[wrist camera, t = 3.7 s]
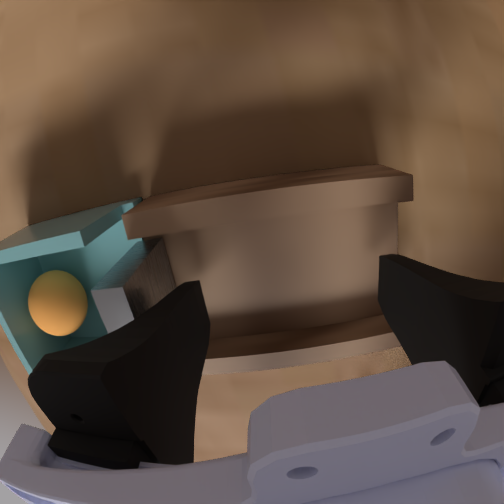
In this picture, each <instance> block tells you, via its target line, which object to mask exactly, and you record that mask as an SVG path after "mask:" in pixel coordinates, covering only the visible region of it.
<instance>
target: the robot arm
mask: <svg viewBox="0 0 504 504" xmlns="http://www.w3.org/2000/svg"><path fill="white" fill-rule="evenodd" d="M378 303H379V305H380V308H381V310H382V312H383V315H384V317H385V319H386V321H387V323H388V324H389V326H390V328H391V329H392V331H393V333H394V334H395V336H396V337H397V339H398V341H399V342H400V344H401V346H402V347H403V349H404V351H405V352H406V354H407V356H408V358H409V360H410V362H411V364H412V365H411V366H407V367H403V368H399V369H395V370H391V371H387V372H383V373H379V374H375V375H370V376H365V377H361V378H356V379H351V380H346V381H340V382H335V383H329V384H323V385H317V386H311V387H304V388H298V389H295V390H292V391H289V392H285V393H282V394H279V395H275V396H272V397H270V398H269V399H267V400H266V401H265V402H264V403H262V404H261V405H260V406H259V407H257V408H256V409H255V410H254V411H252V412H251V415H250V420H249V425H248V445H247V453H242V454H238V455H233V456H228V457H223V458H218V459H213V460H207V461H201V462H195V463H194V431H195V415H196V405H197V395H198V389H199V384H200V380H201V376H202V372H203V368H204V363H205V359H206V355H207V350H208V346H209V338H210V325H211V323H210V319H209V315H208V312H207V308H206V304H205V300H204V296H203V292H202V288H201V284H200V280H197V281H188V282H184V283H182V284H181V285H179V286H178V287H176V288H175V289H174V290H173V291H171V292H170V293H169V294H168V295H166V296H165V297H164V298H163V299H161V300H160V301H159V302H158V303H156V304H155V305H154V306H152V307H151V308H150V309H148V310H147V311H145V312H144V313H143V314H141V315H140V316H138V317H137V318H135V319H134V320H132V321H131V322H129V323H127V324H126V325H124V326H122V327H120V328H119V329H117V330H115V331H112V332H110V333H108V334H106V335H104V336H102V337H100V338H98V339H95V340H93V341H90V342H87V343H85V344H82V345H79V346H76V347H73V348H69V349H65V350H61V351H57V352H53V353H49V354H45V355H44V356H43V357H42V359H41V360H40V361H39V362H38V364H37V365H36V367H35V368H34V369H33V371H32V372H31V373H30V375H29V377H28V386H29V389H30V392H31V395H32V397H33V398H34V400H35V401H36V403H37V404H38V406H39V407H40V408H41V410H42V411H43V412H44V414H45V415H46V416H47V417H48V419H49V420H50V421H51V422H52V424H53V425H54V426H55V427H56V429H55V431H54V433H53V435H51V434H49V433H48V432H46V431H45V430H42V429H39V428H36V427H32V426H29V425H26V424H21V425H20V427H19V429H18V431H17V432H16V434H15V436H14V437H13V439H12V441H11V443H10V444H9V446H8V448H7V450H6V452H5V454H4V455H3V457H2V459H1V461H0V482H1V483H3V484H4V485H5V486H6V487H7V488H9V489H10V490H11V491H12V492H14V493H15V494H16V495H18V496H19V497H20V498H21V499H23V500H24V501H25V502H26V503H28V504H504V283H501V282H492V281H484V280H478V279H473V278H469V277H464V276H460V275H456V274H453V273H450V272H446V271H443V270H440V269H437V268H434V267H432V266H429V265H426V264H424V263H421V262H418V261H416V260H413V259H410V258H407V257H404V256H401V255H398V254H387V255H380V256H379V280H378Z"/></svg>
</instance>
